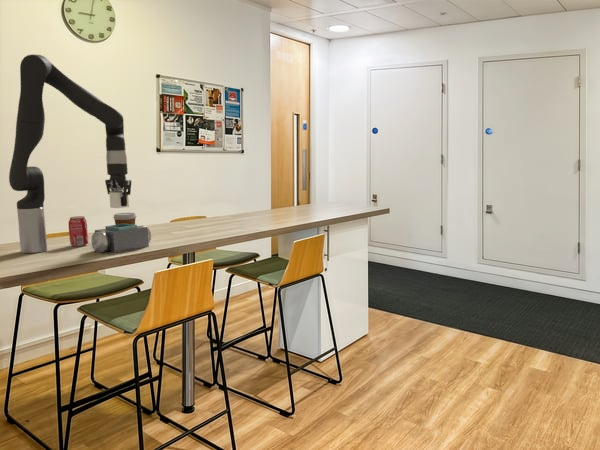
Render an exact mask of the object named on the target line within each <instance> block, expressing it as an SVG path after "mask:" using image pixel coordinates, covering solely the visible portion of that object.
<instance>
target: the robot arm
mask: <svg viewBox="0 0 600 450" xmlns="http://www.w3.org/2000/svg"><path fill="white" fill-rule="evenodd" d="M19 70H20V71H19V72H20V73H19V74H20V90H19V91H20V94H19V100H18V107H17V113H16V114H17V115H16V123H15V124H16V125H15V139H14V146H13V152H12V153H13V154H12V157H11V158H12V159H11V161H10V162H11V164H10V168H9V173H8V174H9V175H8V180H9V181H8V183H9V186H10V187H11V189H12V190H14V191H16V192H26V195H25V196H24V197H23V198H21V199H18V200H17V201H16V210H17V211H16V213H17V221H18V234H19V246H20V252H21V253H22V254H35V253H37V254H38V253H41V252H43V253H44V252H46V251H48V242H47V241H48V240H47V239H48V238H47V232H46V231H47V230H46V220H45V219H46V218H45V217H46V216H45V209H44V208H45V207H44V206H45V205H44V203H45V202H44V201H45V196H46V195H45V194H46V193H45V178H44V177H45V176H44V173H43V171H42V170H41V168H40V167H38V166H28V163H29V159H30V157H31V154H32V153H33V151H34V150H35V149H36V147H37V146H38V145H39V143H40V142H41V140H42V139H43V136H44V130H45V121H46V118H45V108H44V101H43V92H44V87H45V84H46V85H49V86H50V87H53V88H54V89H56V90H57V91H58V92H60V94H62V95H64V97H66V98H67V99H68V100H69V101H70V102H72V103H73V104H74V105H75V106H76V107H78V108H79V109H81V110H82V111H84V112H85V113H87V114H88V115H90V116H91V117H92V116H93V117H95V119H97V120H98V121H100V122H101V123H103V124H104V127H105V134H106V138H105V148H106V149H105V150H106V155H105V159H106V171H107V172H106V173H107V175H108V176H109V179H105V180H104V183H105V187H106V192H107V195H109V192H115V190H114V188H117V189H118V191H119V192H120V195H121V206H127V196H128V197H129V196H131V190H132V180H131V179H127V177H126V175H128V173H129V172H128V159H127V153H126V141H125V136H124V135H125V132H124V131H125V129H124V127H125V123H124V116H123V114H122V113H121V112H120V111H119V110H117V109H115V108H113V106H111V105H108V104H107V103H105V102H104V101H102V100H101V99H100V98H99V97H97V96H96V95H95V94H93V93H92V92H90V91H89V90H87V89H86V88H84V87H82V86H81V85H80V84H78V83H76V82H75V81H73V80H72V79H71V78H69V77H68V76H67V75H66V74H65V73H63V72H62V71H61V70H60V69H58V68H57V66H55V65H54V64H53V63H52V62H51V61H50V60H49V59H48V58H47V57H46V56H44V55H41V54H28V55H25V56H24V57H23V59H21V61H20V66H19ZM122 191H123V192H122Z"/></svg>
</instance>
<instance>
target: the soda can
mask: <svg viewBox="0 0 600 450" xmlns="http://www.w3.org/2000/svg"><path fill="white" fill-rule="evenodd" d="M88 231H89V230H88V221H87V219H86V218H85V216H83V215H82V216H79V215H78V216H77V215H76V216H70V217H69V220H68V236H69V244H70V245H71V246H72V247H73V248H75V247H77V248H78V247H85V246H87V244H89V235H88V234H89V232H88Z"/></svg>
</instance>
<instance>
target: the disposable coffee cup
mask: <svg viewBox="0 0 600 450" xmlns="http://www.w3.org/2000/svg"><path fill="white" fill-rule="evenodd" d="M112 218H113V220H114V225H118V224H132V225H136V218H137V215H136V212H117V213H114V214H113V217H112Z"/></svg>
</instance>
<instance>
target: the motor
mask: <svg viewBox="0 0 600 450" xmlns="http://www.w3.org/2000/svg"><path fill="white" fill-rule="evenodd" d="M151 233H152V232H151V230H150V228H149V227H148V226H147V225H144V224H143V225H137V224H135V225H132V224H118V225H115V224H111V225H106V226H104V228H101V229H95V230H94V233H93V234H92V236H91V246H92V248H93V250H94V252H96V253H97V254H100V253H101V254H102V253H113V254H117V253H122V252H128V251H132V250H137V249H144V248H148V247H150V241H151V240H152V234H151Z"/></svg>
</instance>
